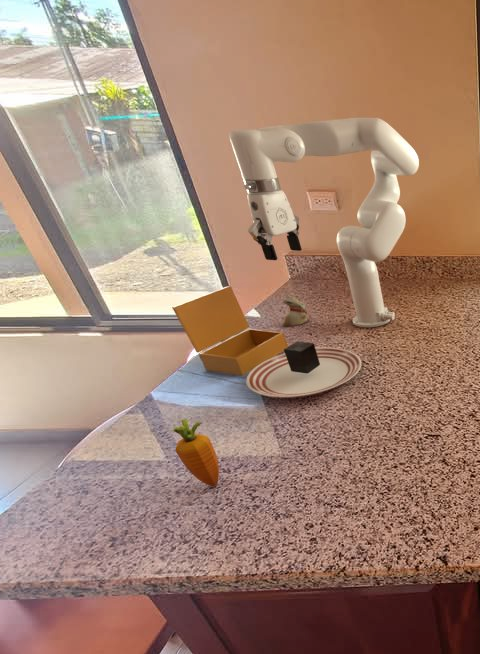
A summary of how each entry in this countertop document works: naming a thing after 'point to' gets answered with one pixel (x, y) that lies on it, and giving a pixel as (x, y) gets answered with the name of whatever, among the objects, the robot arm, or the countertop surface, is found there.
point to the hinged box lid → (211, 318)
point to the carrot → (197, 454)
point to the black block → (302, 357)
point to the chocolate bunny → (294, 312)
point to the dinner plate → (303, 374)
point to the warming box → (243, 351)
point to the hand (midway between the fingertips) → (284, 254)
